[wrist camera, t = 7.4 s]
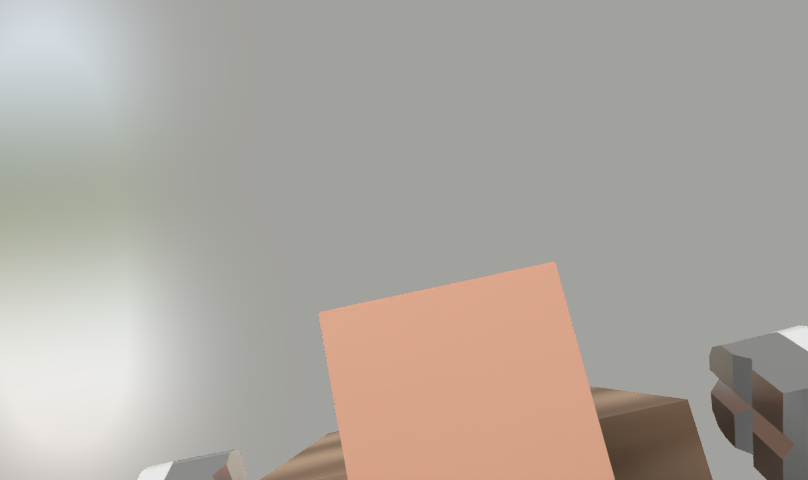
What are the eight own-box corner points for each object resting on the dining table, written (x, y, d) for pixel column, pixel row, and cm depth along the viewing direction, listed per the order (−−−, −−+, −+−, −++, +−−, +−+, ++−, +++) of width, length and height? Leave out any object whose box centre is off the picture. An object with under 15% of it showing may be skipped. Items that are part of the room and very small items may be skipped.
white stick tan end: (625, 517, 7) (554, 261, 7) (364, 575, 7) (318, 312, 7) (473, 399, 30) (460, 339, 31) (415, 411, 30) (403, 351, 31)
